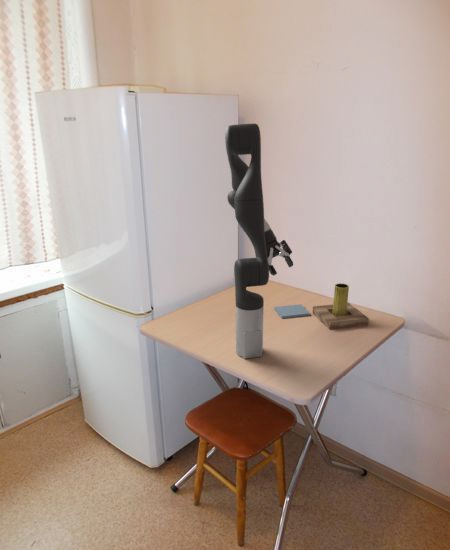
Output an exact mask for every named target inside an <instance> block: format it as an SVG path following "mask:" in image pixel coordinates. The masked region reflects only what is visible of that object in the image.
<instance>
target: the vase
mask: <svg viewBox="0 0 450 550" xmlns="http://www.w3.org/2000/svg"><path fill="white" fill-rule="evenodd" d="M349 287H350V286H349V285H348V284H347V283H341V282H340V283H336V284H335V285H334V291H333V301H332V302H333V311H332V314H333V315H334V316H335V317H338V316H347V307H348V303H349V301H348V300H349V289H350V288H349Z"/></svg>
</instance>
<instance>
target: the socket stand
mask: <svg viewBox="0 0 450 550" xmlns="http://www.w3.org/2000/svg"><path fill="white" fill-rule="evenodd" d="M332 311H333V304H325V305H315V306H312V314H313V315H314V316H315V317H316V318H317V319H318V320H319V321H320V322H321V323H322V324H323V325H324V326H325V327H326V328H327V329H329V330H330V331H331V330H337V329H338V330H339V329H340V330H341V329H348V328H357V327H363V326H369V320H370V318H369V317H368V316H367V315H365V314H364V313H362V311H360V310H359V309H358V308H356V307H355V306H354V305H352V304H351V303H349V302H348V307H347V316H338V317H335V316H334V315H333V314H332Z"/></svg>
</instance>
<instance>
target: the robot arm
mask: <svg viewBox="0 0 450 550" xmlns="http://www.w3.org/2000/svg"><path fill="white" fill-rule="evenodd" d="M260 130H261V129H260V126H259V124H257V123H240V124H239V123H238V124H232V125H231V124H230V125H228V126H226V129H225V132H224V133H225V135H224V139H225V140H224V141H225V150H226V155H227V161H228V164H229V168H230V174H231V187H232V190H231V191H229V192H228V193H227V202H228V204H229V205H230V207H231V208H232V209H233V210H234V214H235V219H236V221H237V223H238V225H239V226H240V228H241V229H242V230H243V232H244V233H245V234H246V236H247V237H248V239H249V241H250V243H251V245H252V246H253V249H254V254H255V257H247V258H246V257H245V258H238V259H236V260H235V262H234V266H233V268H234V269H233V273H234V289H235V290H234V292H235V294H234V295H235V353H236V354H237V355H238V356H239V357H242V358H243V359H244V360H245V359H252V358H253V359H254V358H261V357H262V356H263V353H264V306H265V305H264V297H263V296H262V295H261V294H259V293H256V292H253V291H250V290H247V288H250V287H258V286H266V285H267V284H268V283H269V281H270V280H269V279H270V275H271V276H276V275H278V271H276V268H275V267H274V265H273V263H272V261H273V259H274V258H276V257H278V256H279V257H282V258H283V259H284V261H285V262H286V265H287V266H288V268H292V267H293V266H294V262H293V259H292V258H291V256H290V255H291V254H292V253H293V250H292V249H291V247H290V245H288V243H287V241H286V240H285V239H283V240H281V241H280V242H279V241H278V240H277V237H276V235H275V233H274V231H273V229H272V227H271V226H270V224H269V222H268V221H267V220H266V219H265V207H264V192H263V183H262V181H263V180H262V147H261V145H262V144H261V143H262V141H261V131H260ZM243 155H244V156H245V155H246V156H247V155H250V157H251V158H250V162H249V166H248V165H247V163H246V162H244V160H243V159H241V157H240V156H243Z"/></svg>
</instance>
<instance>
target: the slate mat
mask: <svg viewBox="0 0 450 550" xmlns="http://www.w3.org/2000/svg"><path fill="white" fill-rule="evenodd" d="M273 309H274V311H275V312H276V313H277V315H278V316H279V317H280V318H281V319H290V318H302V317H309V316H311V313H310V311H308V310H307V308H305V306H303V304H300V303H299V304H289V305H280V306H274V307H273Z"/></svg>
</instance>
